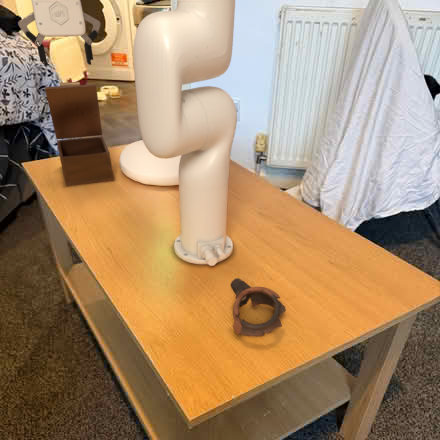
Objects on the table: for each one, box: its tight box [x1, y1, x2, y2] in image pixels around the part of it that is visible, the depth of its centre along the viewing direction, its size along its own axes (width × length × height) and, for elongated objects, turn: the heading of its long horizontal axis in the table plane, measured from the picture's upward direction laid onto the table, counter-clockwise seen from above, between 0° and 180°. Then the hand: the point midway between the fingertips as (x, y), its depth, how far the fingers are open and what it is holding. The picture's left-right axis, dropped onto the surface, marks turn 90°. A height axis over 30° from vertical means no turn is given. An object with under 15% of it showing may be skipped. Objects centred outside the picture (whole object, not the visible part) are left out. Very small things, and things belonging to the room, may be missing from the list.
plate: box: [118, 139, 181, 187], centre depth 118 cm, size 28×6×27 cm
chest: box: [56, 135, 115, 187], centre depth 114 cm, size 14×13×8 cm
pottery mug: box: [230, 277, 286, 338], centre depth 69 cm, size 12×10×8 cm
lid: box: [44, 81, 103, 140], centre depth 112 cm, size 14×13×5 cm
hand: (67, 64), depth 96 cm, fingers open, 9 cm apart
